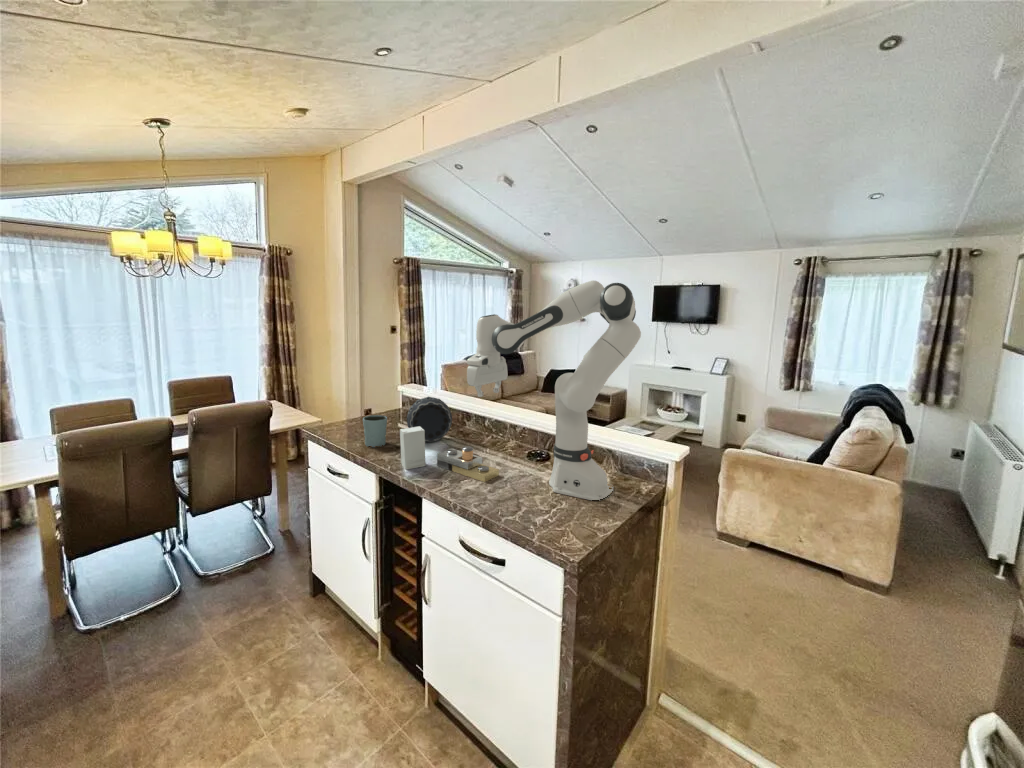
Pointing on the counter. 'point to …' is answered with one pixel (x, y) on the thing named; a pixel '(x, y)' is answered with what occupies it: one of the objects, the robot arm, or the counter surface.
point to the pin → (467, 453)
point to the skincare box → (412, 447)
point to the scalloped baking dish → (430, 417)
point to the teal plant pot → (375, 430)
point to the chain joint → (466, 465)
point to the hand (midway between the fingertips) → (488, 394)
